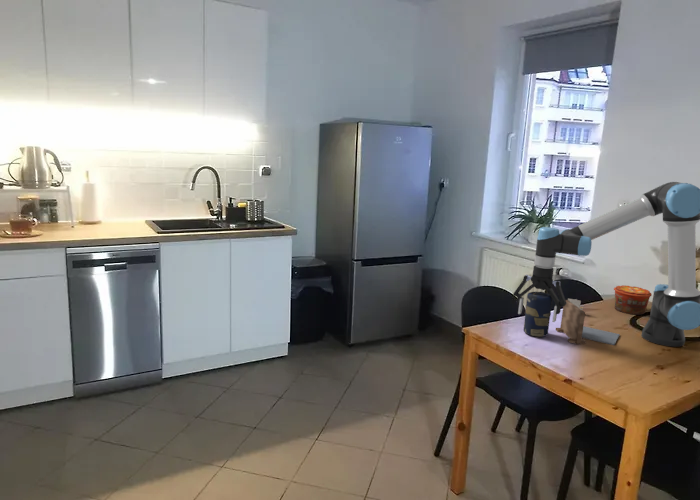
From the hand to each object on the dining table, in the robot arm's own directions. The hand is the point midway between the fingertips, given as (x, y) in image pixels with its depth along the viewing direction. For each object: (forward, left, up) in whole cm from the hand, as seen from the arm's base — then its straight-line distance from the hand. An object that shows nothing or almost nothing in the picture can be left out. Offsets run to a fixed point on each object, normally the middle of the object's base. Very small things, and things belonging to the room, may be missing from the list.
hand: (536, 317), depth 206 cm
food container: (-27, -66, -7) cm, 72 cm away
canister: (0, 0, -7) cm, 7 cm away
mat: (-21, -16, -7) cm, 28 cm away
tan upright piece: (-12, -7, -7) cm, 16 cm away
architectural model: (-6, -41, -8) cm, 42 cm away
